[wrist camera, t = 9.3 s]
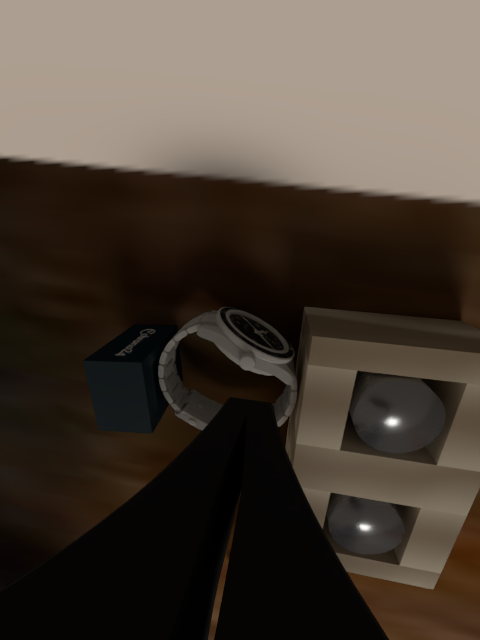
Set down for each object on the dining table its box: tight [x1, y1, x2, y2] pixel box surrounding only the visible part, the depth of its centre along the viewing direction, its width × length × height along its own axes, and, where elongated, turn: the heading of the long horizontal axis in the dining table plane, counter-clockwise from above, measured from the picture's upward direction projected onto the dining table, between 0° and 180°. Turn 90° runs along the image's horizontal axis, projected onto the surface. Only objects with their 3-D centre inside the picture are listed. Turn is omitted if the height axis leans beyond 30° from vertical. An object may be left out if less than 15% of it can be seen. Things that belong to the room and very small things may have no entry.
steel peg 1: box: [349, 371, 446, 453], centre depth 15 cm, size 4×4×5 cm
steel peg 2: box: [326, 493, 405, 555], centre depth 17 cm, size 4×4×5 cm
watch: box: [83, 307, 297, 433], centre depth 16 cm, size 6×8×11 cm
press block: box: [285, 307, 480, 589], centre depth 16 cm, size 15×9×5 cm, turn 177°
